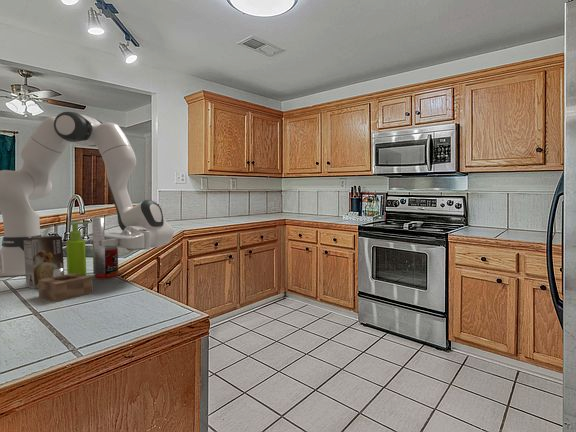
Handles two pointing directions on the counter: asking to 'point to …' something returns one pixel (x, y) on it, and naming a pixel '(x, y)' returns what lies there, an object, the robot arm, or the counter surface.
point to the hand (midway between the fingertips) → (96, 242)
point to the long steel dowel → (98, 246)
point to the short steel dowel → (57, 271)
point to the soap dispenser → (76, 251)
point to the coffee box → (42, 258)
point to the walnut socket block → (65, 287)
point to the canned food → (110, 263)
